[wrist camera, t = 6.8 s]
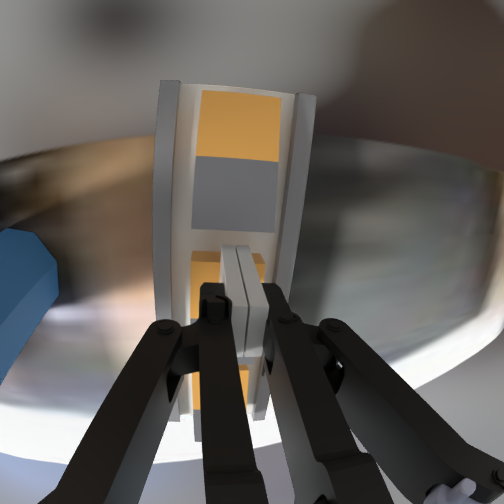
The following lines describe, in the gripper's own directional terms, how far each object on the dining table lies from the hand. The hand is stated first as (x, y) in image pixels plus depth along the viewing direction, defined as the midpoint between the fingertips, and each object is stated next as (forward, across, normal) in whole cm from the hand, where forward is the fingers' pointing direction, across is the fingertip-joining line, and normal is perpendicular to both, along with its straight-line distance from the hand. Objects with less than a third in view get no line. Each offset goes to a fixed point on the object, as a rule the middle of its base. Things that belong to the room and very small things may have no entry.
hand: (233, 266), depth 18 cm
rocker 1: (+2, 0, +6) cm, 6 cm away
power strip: (+8, 0, -4) cm, 9 cm away
